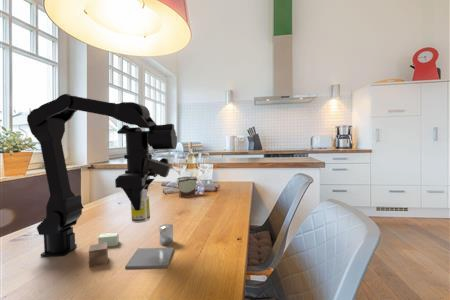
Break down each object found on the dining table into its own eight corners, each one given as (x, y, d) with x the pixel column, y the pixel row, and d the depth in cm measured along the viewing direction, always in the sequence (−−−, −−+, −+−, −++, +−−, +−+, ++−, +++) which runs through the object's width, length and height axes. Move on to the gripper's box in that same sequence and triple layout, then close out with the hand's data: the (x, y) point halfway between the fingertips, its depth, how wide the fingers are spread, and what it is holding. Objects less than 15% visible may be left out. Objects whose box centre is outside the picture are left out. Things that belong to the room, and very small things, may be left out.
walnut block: (89, 267, 63) (88, 251, 62) (90, 260, 66) (90, 245, 66) (107, 264, 64) (106, 248, 64) (107, 257, 68) (107, 242, 68)
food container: (191, 193, 147) (191, 175, 146) (197, 194, 142) (197, 176, 142) (172, 196, 139) (171, 178, 139) (177, 198, 134) (177, 179, 134)
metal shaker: (158, 245, 75) (157, 228, 74) (161, 240, 79) (160, 224, 78) (172, 245, 75) (171, 228, 75) (174, 240, 79) (173, 224, 79)
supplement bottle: (143, 216, 73) (142, 187, 73) (153, 219, 70) (152, 189, 70) (128, 221, 69) (126, 190, 69) (138, 224, 66) (136, 192, 66)
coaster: (125, 268, 62) (125, 266, 61) (137, 250, 71) (137, 248, 71) (167, 267, 62) (167, 265, 62) (173, 249, 72) (173, 247, 72)
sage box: (98, 247, 74) (98, 237, 74) (101, 243, 77) (100, 233, 77) (117, 245, 75) (116, 235, 75) (118, 242, 78) (118, 232, 78)
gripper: (161, 151, 60) (164, 216, 61) (172, 148, 79) (174, 198, 79) (112, 152, 59) (116, 218, 60) (136, 149, 78) (138, 200, 79)
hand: (140, 207), depth 70 cm, fingers closed on supplement bottle, 5 cm apart
